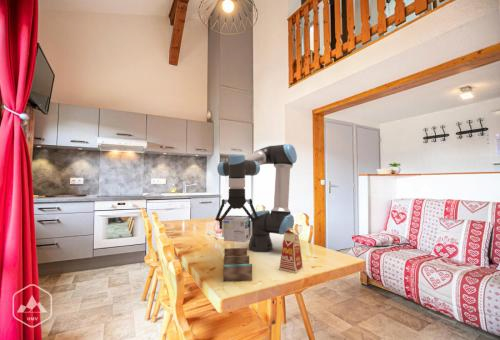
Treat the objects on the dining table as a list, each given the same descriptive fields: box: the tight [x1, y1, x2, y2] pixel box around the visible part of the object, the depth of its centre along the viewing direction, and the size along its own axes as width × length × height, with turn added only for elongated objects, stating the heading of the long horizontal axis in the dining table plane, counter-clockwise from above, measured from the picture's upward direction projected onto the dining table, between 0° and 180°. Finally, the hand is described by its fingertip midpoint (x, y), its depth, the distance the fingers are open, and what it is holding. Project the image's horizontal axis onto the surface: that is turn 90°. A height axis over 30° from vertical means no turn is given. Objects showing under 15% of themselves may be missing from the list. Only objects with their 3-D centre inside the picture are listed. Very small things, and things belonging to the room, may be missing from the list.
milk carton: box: [278, 227, 304, 274], centre depth 119 cm, size 9×9×20 cm
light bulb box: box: [223, 214, 251, 243], centre depth 112 cm, size 11×7×11 cm, turn 71°
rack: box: [223, 247, 253, 283], centre depth 118 cm, size 12×28×7 cm, turn 5°
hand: (237, 235), depth 112 cm, fingers closed on light bulb box, 12 cm apart
